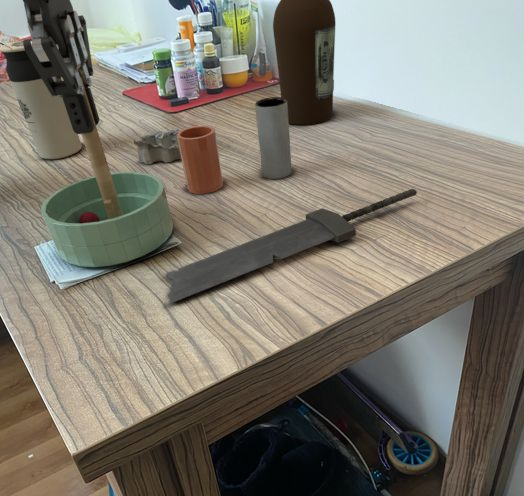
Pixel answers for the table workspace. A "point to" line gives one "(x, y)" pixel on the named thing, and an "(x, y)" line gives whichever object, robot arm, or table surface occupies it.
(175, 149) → the egg carton
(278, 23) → the olive oil
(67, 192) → the bowl
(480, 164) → the table surface
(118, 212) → the wooden stick
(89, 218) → the bead
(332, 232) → the toy broadsword
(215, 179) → the utensil pot
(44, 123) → the travel mug
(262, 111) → the grey tube
